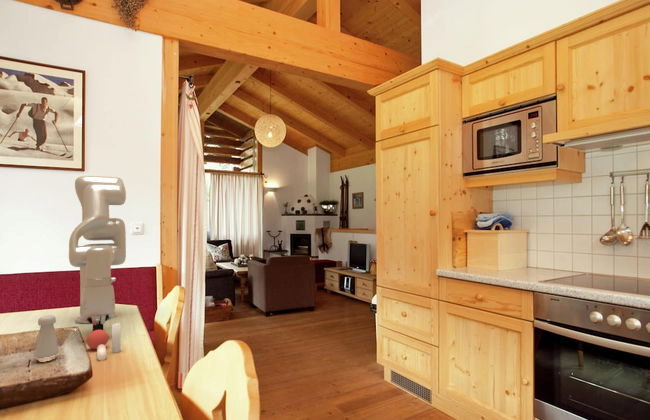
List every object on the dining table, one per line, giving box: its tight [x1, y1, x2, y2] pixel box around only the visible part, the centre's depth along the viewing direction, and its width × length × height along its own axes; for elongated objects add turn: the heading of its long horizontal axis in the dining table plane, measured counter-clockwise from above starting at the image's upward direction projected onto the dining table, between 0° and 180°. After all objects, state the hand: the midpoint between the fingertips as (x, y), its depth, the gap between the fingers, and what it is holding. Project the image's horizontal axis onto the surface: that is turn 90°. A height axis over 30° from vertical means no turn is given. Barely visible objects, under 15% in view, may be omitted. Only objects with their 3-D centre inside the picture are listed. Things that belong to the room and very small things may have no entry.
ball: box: [86, 329, 109, 350], centre depth 122 cm, size 6×6×6 cm
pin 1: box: [96, 344, 107, 362], centre depth 115 cm, size 2×2×9 cm
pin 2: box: [111, 322, 122, 354], centre depth 119 cm, size 2×2×9 cm
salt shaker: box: [34, 314, 59, 358], centre depth 112 cm, size 6×6×13 cm
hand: (97, 335), depth 131 cm, fingers closed
